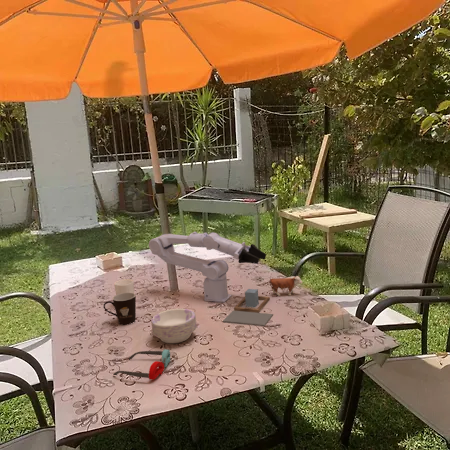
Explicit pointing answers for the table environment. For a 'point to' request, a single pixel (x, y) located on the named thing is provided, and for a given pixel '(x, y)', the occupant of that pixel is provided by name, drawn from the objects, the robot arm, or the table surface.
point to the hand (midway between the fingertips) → (262, 258)
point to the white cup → (124, 286)
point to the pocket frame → (239, 308)
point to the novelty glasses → (154, 368)
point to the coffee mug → (124, 307)
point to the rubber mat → (248, 318)
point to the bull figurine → (284, 284)
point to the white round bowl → (174, 325)
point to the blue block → (251, 298)
